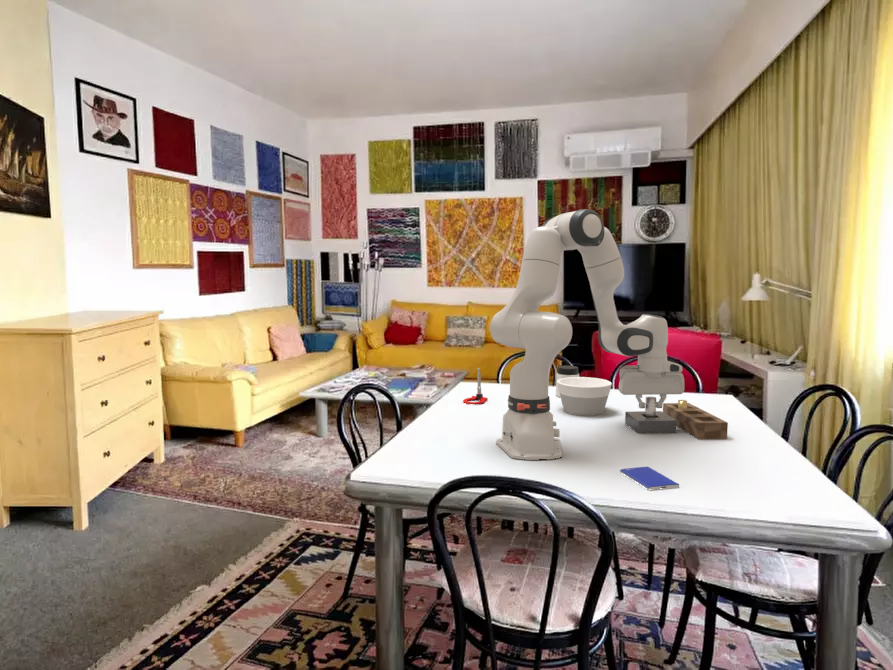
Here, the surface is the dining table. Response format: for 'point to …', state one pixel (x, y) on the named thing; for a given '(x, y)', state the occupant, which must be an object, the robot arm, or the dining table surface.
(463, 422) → the dining table surface
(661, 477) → the hard drive
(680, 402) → the cylinder
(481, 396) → the tow hook
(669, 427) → the socket block
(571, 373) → the jar
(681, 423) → the rack
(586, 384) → the bowl
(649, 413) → the steel peg
